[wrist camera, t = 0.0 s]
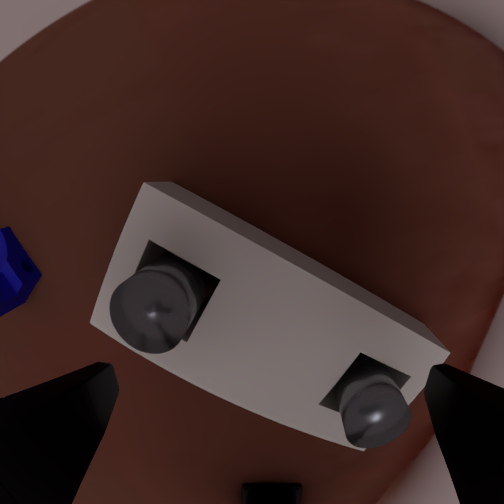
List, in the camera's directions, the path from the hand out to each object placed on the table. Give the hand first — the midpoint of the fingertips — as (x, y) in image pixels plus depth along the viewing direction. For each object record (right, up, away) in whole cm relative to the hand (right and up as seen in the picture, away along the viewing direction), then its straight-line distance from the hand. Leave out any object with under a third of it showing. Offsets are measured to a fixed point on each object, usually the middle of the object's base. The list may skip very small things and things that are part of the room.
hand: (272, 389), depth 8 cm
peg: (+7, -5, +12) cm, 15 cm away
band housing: (+1, -1, +15) cm, 15 cm away
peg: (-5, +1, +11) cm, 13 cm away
